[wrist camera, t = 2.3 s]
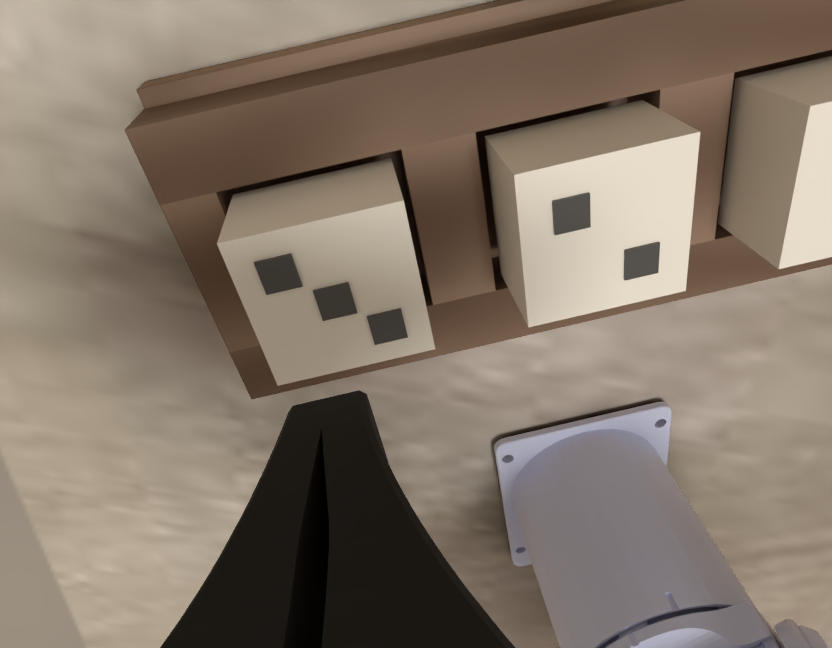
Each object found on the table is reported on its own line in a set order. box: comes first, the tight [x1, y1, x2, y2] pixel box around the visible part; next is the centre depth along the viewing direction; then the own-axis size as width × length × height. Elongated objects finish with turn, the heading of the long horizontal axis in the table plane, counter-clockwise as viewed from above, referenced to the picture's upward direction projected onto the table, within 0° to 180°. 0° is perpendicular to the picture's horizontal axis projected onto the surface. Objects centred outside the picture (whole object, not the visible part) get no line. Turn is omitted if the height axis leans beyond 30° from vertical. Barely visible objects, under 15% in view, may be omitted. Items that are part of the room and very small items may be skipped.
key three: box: [217, 158, 435, 386], centre depth 16 cm, size 4×4×3 cm
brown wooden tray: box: [125, 0, 832, 399], centre depth 18 cm, size 10×22×3 cm, turn 101°
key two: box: [484, 100, 700, 328], centre depth 16 cm, size 4×4×3 cm
